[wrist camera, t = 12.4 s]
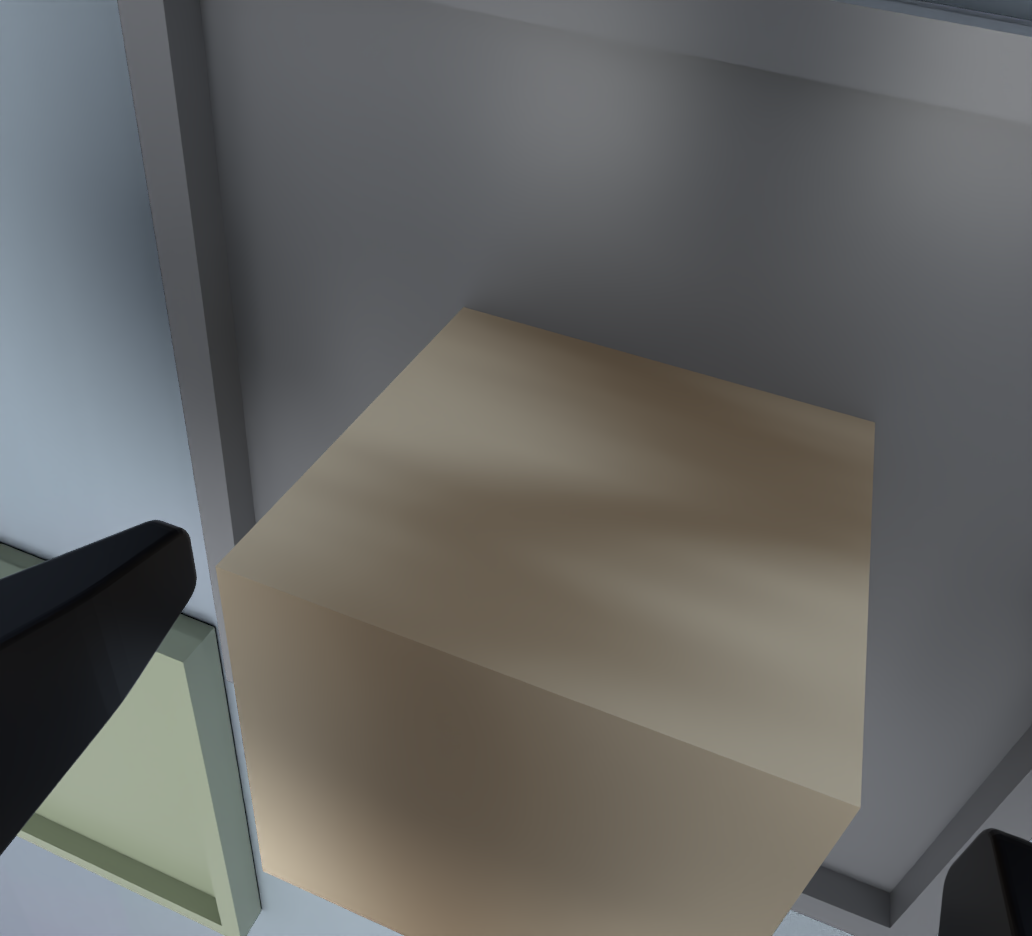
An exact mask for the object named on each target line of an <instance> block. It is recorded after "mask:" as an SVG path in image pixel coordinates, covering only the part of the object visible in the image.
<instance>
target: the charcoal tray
mask: <svg viewBox="0 0 1032 936" xmlns="http://www.w3.org/2000/svg"><path fill="white" fill-rule="evenodd" d="M117 2H118V8H119V15H120V21H121V27H122V33H123V39H124V46H125V52H126V58H127V64H128V70H129V77H130V83H131V89H132V95H133V101H134V108H135V114H136V120H137V126H138V132H139V139H140V145H141V151H142V157H143V163H144V170H145V176H146V182H147V188H148V194H149V201H150V207H151V213H152V219H153V225H154V232H155V238H156V244H157V250H158V256H159V263H160V269H161V275H162V281H163V287H164V294H165V300H166V306H167V312H168V318H169V325H170V331H171V337H172V343H173V349H174V356H175V362H176V368H177V374H178V381H179V387H180V393H181V399H182V405H183V412H184V418H185V424H186V430H187V436H188V443H189V449H190V455H191V461H192V467H193V474H194V480H195V486H196V492H197V498H198V505H199V511H200V517H201V523H202V529H203V536H204V542H205V548H206V554H207V560H208V567H209V573H210V579H211V585H212V591H213V598H214V604H215V610H216V616H217V622H218V629H219V635H220V641H221V647H222V653H223V660H224V666H225V672H226V678H227V681H229V682H232V683H234V682H233V676H232V669H231V663H230V656H229V650H228V644H227V637H226V631H225V624H224V618H223V612H222V605H221V599H220V592H219V586H218V579H217V573H216V567H215V566H216V565H217V564H218V563H219V562H220V561H221V560H222V559H223V558H224V557H225V556H226V555H227V554H228V553H229V552H230V551H231V550H232V549H233V548H234V546H235V545H236V544H237V543H238V542H239V541H240V540H241V539H242V538H243V537H244V536H245V535H246V534H247V533H248V532H249V531H250V530H251V529H252V528H253V527H254V526H255V525H256V523H257V522H258V521H259V520H260V519H261V518H262V517H263V516H264V515H265V514H266V513H267V512H268V511H269V510H270V509H271V508H272V507H273V506H274V505H275V504H276V503H277V502H278V500H279V499H280V498H281V497H282V496H283V495H284V494H285V493H286V492H287V491H288V490H289V489H290V488H291V487H292V486H293V485H294V484H295V483H296V482H297V481H298V480H299V479H300V478H301V476H302V475H303V474H304V473H305V472H306V471H307V470H308V469H309V468H310V467H311V466H312V465H313V464H314V463H315V462H316V461H317V460H318V459H319V458H320V457H321V456H322V455H323V453H324V452H325V451H326V450H327V449H328V448H329V447H330V446H331V445H332V444H333V443H334V442H335V441H336V440H337V439H338V438H339V437H340V436H341V435H342V434H343V433H344V432H345V430H346V429H347V428H348V427H349V426H350V425H351V424H352V423H353V422H354V421H355V420H356V419H357V418H358V417H359V416H360V415H361V414H362V413H363V412H364V411H365V410H366V409H367V407H368V406H369V405H370V404H371V403H372V402H373V401H374V400H375V399H376V398H377V397H378V396H379V395H380V394H381V393H382V392H383V391H384V390H385V389H386V388H387V387H388V386H389V384H390V383H391V382H392V381H393V380H394V379H395V378H396V377H397V376H398V375H399V374H400V373H401V372H402V371H403V370H404V369H405V368H406V367H407V366H408V365H409V364H410V363H411V361H412V360H413V359H414V358H415V357H416V356H417V355H418V354H419V353H420V352H421V351H422V350H423V349H424V348H425V347H426V346H427V345H428V344H429V343H430V342H431V341H432V340H433V339H434V337H435V336H436V335H437V334H438V333H439V332H440V331H441V330H442V329H443V328H444V327H445V326H446V325H447V324H448V323H449V322H450V321H451V320H452V319H453V318H454V317H455V316H456V314H457V313H458V312H459V311H460V310H461V309H462V308H463V307H465V308H469V309H472V310H476V311H479V312H483V313H487V314H490V315H494V316H497V317H501V318H504V319H508V320H511V321H515V322H519V323H522V324H526V325H529V326H533V327H536V328H540V329H544V330H547V331H551V332H554V333H558V334H561V335H565V336H569V337H572V338H576V339H579V340H583V341H586V342H590V343H594V344H597V345H601V346H604V347H608V348H611V349H615V350H618V351H622V352H626V353H629V354H633V355H636V356H640V357H643V358H647V359H651V360H654V361H658V362H661V363H665V364H668V365H672V366H676V367H679V368H683V369H686V370H690V371H693V372H697V373H700V374H704V375H708V376H711V377H715V378H718V379H722V380H725V381H729V382H733V383H736V384H740V385H743V386H747V387H750V388H754V389H758V390H761V391H765V392H768V393H772V394H775V395H779V396H782V397H786V398H790V399H793V400H797V401H800V402H804V403H807V404H811V405H815V406H818V407H822V408H825V409H829V410H832V411H836V412H840V413H843V414H847V415H850V416H854V417H857V418H861V419H864V420H868V421H872V422H875V439H874V466H873V492H872V519H871V546H870V572H869V599H868V625H867V652H866V678H865V705H864V732H863V758H862V785H861V808H860V809H859V811H858V812H857V814H856V815H855V817H854V818H853V820H852V821H851V822H850V824H849V825H848V827H847V828H846V830H845V831H844V832H843V834H842V835H841V837H840V838H839V840H838V841H837V843H836V844H835V845H834V847H833V848H832V850H831V851H830V853H829V854H828V856H827V857H826V858H825V860H824V861H823V863H822V864H821V866H820V867H819V869H818V870H817V871H816V873H815V874H814V876H813V877H812V879H811V880H810V881H809V883H808V884H807V886H806V887H805V889H804V890H803V892H802V893H801V894H800V896H799V897H798V899H797V900H796V902H795V903H794V905H793V906H792V907H791V909H790V910H793V911H795V912H798V913H800V914H802V915H805V916H807V917H810V918H812V919H815V920H817V921H820V922H822V923H825V924H827V925H830V926H832V927H834V928H837V929H839V930H842V931H844V932H847V933H849V934H852V935H854V936H937V935H938V932H939V922H940V913H941V903H942V893H943V885H944V881H945V878H946V875H947V872H948V870H949V868H950V867H951V865H952V864H953V863H954V862H955V860H956V859H957V858H958V857H959V856H960V855H961V854H962V853H963V852H964V850H965V849H966V848H967V847H968V846H969V845H970V844H971V843H972V842H973V840H974V839H975V838H976V837H977V836H978V835H979V834H980V833H981V832H982V831H983V830H985V829H989V828H995V829H998V830H1001V831H1004V832H1006V833H1009V834H1012V835H1015V836H1017V837H1020V838H1023V839H1025V840H1027V841H1030V840H1031V839H1032V21H1031V20H1025V19H1020V18H1014V17H1009V16H1003V15H997V14H992V13H986V12H981V11H975V10H969V9H964V8H958V7H953V6H947V5H942V4H936V3H930V2H925V1H919V0H117Z"/></svg>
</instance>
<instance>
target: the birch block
mask: <svg viewBox="0 0 1032 936" xmlns="http://www.w3.org/2000/svg"><path fill="white" fill-rule="evenodd" d="M874 439H875V422H872V421H868V420H864V419H861V418H857V417H854V416H850V415H847V414H843V413H840V412H836V411H832V410H829V409H825V408H822V407H818V406H815V405H811V404H807V403H804V402H800V401H797V400H793V399H790V398H786V397H782V396H779V395H775V394H772V393H768V392H765V391H761V390H758V389H754V388H750V387H747V386H743V385H740V384H736V383H733V382H729V381H725V380H722V379H718V378H715V377H711V376H708V375H704V374H700V373H697V372H693V371H690V370H686V369H683V368H679V367H676V366H672V365H668V364H665V363H661V362H658V361H654V360H651V359H647V358H643V357H640V356H636V355H633V354H629V353H626V352H622V351H618V350H615V349H611V348H608V347H604V346H601V345H597V344H594V343H590V342H586V341H583V340H579V339H576V338H572V337H569V336H565V335H561V334H558V333H554V332H551V331H547V330H544V329H540V328H536V327H533V326H529V325H526V324H522V323H519V322H515V321H511V320H508V319H504V318H501V317H497V316H494V315H490V314H487V313H483V312H479V311H476V310H472V309H469V308H465V307H463V308H462V309H461V310H460V311H459V312H458V313H457V314H456V316H455V317H454V318H453V319H452V320H451V321H450V322H449V323H448V324H447V325H446V326H445V327H444V328H443V329H442V330H441V331H440V332H439V333H438V334H437V335H436V336H435V337H434V339H433V340H432V341H431V342H430V343H429V344H428V345H427V346H426V347H425V348H424V349H423V350H422V351H421V352H420V353H419V354H418V355H417V356H416V357H415V358H414V359H413V360H412V361H411V363H410V364H409V365H408V366H407V367H406V368H405V369H404V370H403V371H402V372H401V373H400V374H399V375H398V376H397V377H396V378H395V379H394V380H393V381H392V382H391V383H390V384H389V386H388V387H387V388H386V389H385V390H384V391H383V392H382V393H381V394H380V395H379V396H378V397H377V398H376V399H375V400H374V401H373V402H372V403H371V404H370V405H369V406H368V407H367V409H366V410H365V411H364V412H363V413H362V414H361V415H360V416H359V417H358V418H357V419H356V420H355V421H354V422H353V423H352V424H351V425H350V426H349V427H348V428H347V429H346V430H345V432H344V433H343V434H342V435H341V436H340V437H339V438H338V439H337V440H336V441H335V442H334V443H333V444H332V445H331V446H330V447H329V448H328V449H327V450H326V451H325V452H324V453H323V455H322V456H321V457H320V458H319V459H318V460H317V461H316V462H315V463H314V464H313V465H312V466H311V467H310V468H309V469H308V470H307V471H306V472H305V473H304V474H303V475H302V476H301V478H300V479H299V480H298V481H297V482H296V483H295V484H294V485H293V486H292V487H291V488H290V489H289V490H288V491H287V492H286V493H285V494H284V495H283V496H282V497H281V498H280V499H279V500H278V502H277V503H276V504H275V505H274V506H273V507H272V508H271V509H270V510H269V511H268V512H267V513H266V514H265V515H264V516H263V517H262V518H261V519H260V520H259V521H258V522H257V523H256V525H255V526H254V527H253V528H252V529H251V530H250V531H249V532H248V533H247V534H246V535H245V536H244V537H243V538H242V539H241V540H240V541H239V542H238V543H237V544H236V545H235V546H234V548H233V549H232V550H231V551H230V552H229V553H228V554H227V555H226V556H225V557H224V558H223V559H222V560H221V561H220V562H219V563H218V564H217V565H216V566H215V567H216V573H217V579H218V586H219V592H220V599H221V605H222V612H223V618H224V624H225V631H226V637H227V644H228V650H229V656H230V663H231V669H232V676H233V682H234V688H235V695H236V701H237V708H238V714H239V721H240V727H241V733H242V740H243V746H244V753H245V759H246V765H247V772H248V778H249V785H250V791H251V797H252V804H253V810H254V817H255V823H256V830H257V836H258V842H259V849H260V855H261V862H262V868H263V871H264V872H266V873H268V874H270V875H272V876H275V877H277V878H279V879H281V880H283V881H286V882H288V883H290V884H292V885H294V886H297V887H299V888H301V889H303V890H305V891H308V892H310V893H312V894H314V895H316V896H319V897H321V898H323V899H325V900H327V901H330V902H332V903H334V904H336V905H338V906H341V907H343V908H345V909H347V910H349V911H352V912H354V913H356V914H358V915H360V916H363V917H365V918H367V919H369V920H371V921H374V922H376V923H378V924H380V925H382V926H385V927H387V928H389V929H391V930H393V931H396V932H398V933H400V934H402V935H404V936H772V935H773V933H774V932H775V931H776V929H777V928H778V926H779V925H780V923H781V922H782V920H783V919H784V918H785V916H786V915H787V913H788V912H789V910H790V909H791V907H792V906H793V905H794V903H795V902H796V900H797V899H798V897H799V896H800V894H801V893H802V892H803V890H804V889H805V887H806V886H807V884H808V883H809V881H810V880H811V879H812V877H813V876H814V874H815V873H816V871H817V870H818V869H819V867H820V866H821V864H822V863H823V861H824V860H825V858H826V857H827V856H828V854H829V853H830V851H831V850H832V848H833V847H834V845H835V844H836V843H837V841H838V840H839V838H840V837H841V835H842V834H843V832H844V831H845V830H846V828H847V827H848V825H849V824H850V822H851V821H852V820H853V818H854V817H855V815H856V814H857V812H858V811H859V809H860V808H861V785H862V758H863V732H864V705H865V678H866V652H867V625H868V599H869V572H870V546H871V519H872V492H873V466H874Z"/></svg>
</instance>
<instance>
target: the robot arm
mask: <svg viewBox="0 0 1032 936" xmlns="http://www.w3.org/2000/svg"><path fill="white" fill-rule="evenodd" d="M196 580H197V576H196V569H195V563H194V558H193V552H192V546H191V540H190V537H189V534H188V533H187V532H186V531H185V530H184V529H182V528H180V527H177V526H174V525H172V524H169V523H166V522H164V521H160V520H152V521H148V522H145V523H142V524H140V525H137V526H134V527H132V528H129V529H127V530H124V531H122V532H119V533H117V534H114V535H111V536H109V537H106V538H104V539H101V540H99V541H96V542H93V543H91V544H88V545H86V546H83V547H81V548H78V549H76V550H73V551H70V552H68V553H65V554H63V555H60V556H58V557H55V558H52V559H50V560H47V561H45V562H42V563H40V564H37V565H35V566H32V567H29V568H27V569H24V570H22V571H19V572H17V573H14V574H11V575H9V576H6V577H4V578H1V579H0V855H1V854H2V853H3V852H4V850H5V849H6V848H7V847H8V845H9V844H10V843H11V842H12V840H13V839H14V838H15V837H16V835H17V834H18V833H19V832H20V831H21V829H22V828H23V827H24V826H25V824H26V823H27V822H28V821H29V819H30V818H31V817H32V816H33V814H34V813H35V812H36V811H37V809H38V808H39V807H40V806H41V804H42V803H43V802H44V801H45V799H46V798H47V797H48V796H49V794H50V793H51V792H52V791H53V789H54V788H55V787H56V786H57V784H58V783H59V782H60V781H61V779H62V778H63V777H64V776H65V774H66V773H67V772H68V771H69V769H70V768H71V767H72V766H73V764H74V763H75V762H76V761H77V759H78V758H79V757H80V756H81V754H82V753H83V752H84V751H85V749H86V748H87V747H88V746H89V744H90V743H91V742H92V741H93V739H94V738H95V737H96V736H97V734H98V733H99V732H100V731H101V729H102V728H103V727H104V726H105V724H106V723H107V722H108V721H109V719H110V718H111V717H112V715H113V714H114V713H115V711H116V710H117V709H118V708H119V706H120V705H121V704H122V702H123V701H124V699H125V698H126V697H127V695H128V694H129V692H130V691H131V689H132V688H133V686H134V685H135V683H136V682H137V680H138V679H139V677H140V676H141V674H142V673H143V671H144V669H145V668H146V666H147V665H148V663H149V662H150V660H151V659H152V657H153V655H154V654H155V652H156V651H157V649H158V648H159V646H160V645H161V643H162V641H163V640H164V638H165V637H166V635H167V634H168V632H169V631H170V629H171V628H172V626H173V624H174V623H175V621H176V620H177V618H178V617H179V615H180V614H181V612H182V610H183V609H184V607H185V606H186V604H187V603H188V601H189V600H190V598H191V596H192V594H193V592H194V589H195V586H196ZM938 936H1032V843H1031V842H1029V841H1027V840H1025V839H1023V838H1020V837H1017V836H1015V835H1012V834H1009V833H1006V832H1004V831H1001V830H998V829H995V828H989V829H985V830H983V831H982V832H981V833H980V834H979V835H978V836H977V837H976V838H975V839H974V840H973V842H972V843H971V844H970V845H969V846H968V847H967V848H966V849H965V850H964V852H963V853H962V854H961V855H960V856H959V857H958V858H957V859H956V860H955V862H954V863H953V864H952V865H951V867H950V868H949V870H948V872H947V875H946V878H945V881H944V885H943V893H942V903H941V913H940V922H939V932H938Z"/></svg>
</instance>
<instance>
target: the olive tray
mask: <svg viewBox="0 0 1032 936" xmlns="http://www.w3.org/2000/svg"><path fill="white" fill-rule="evenodd" d="M42 562H45V561H44V560H42V559H39V558H37V557H34V556H32V555H29V554H27V553H24V552H21V551H19V550H16V549H14V548H11V547H9V546H6V545H4V544H1V543H0V579H1V578H4V577H6V576H9V575H11V574H14V573H17V572H19V571H22V570H24V569H27V568H29V567H32V566H35V565H37V564H40V563H42ZM16 836H18V837H20V838H22V839H24V840H27V841H29V842H31V843H33V844H35V845H37V846H39V847H41V848H43V849H45V850H47V851H50V852H52V853H54V854H56V855H58V856H60V857H62V858H64V859H66V860H68V861H70V862H73V863H75V864H77V865H79V866H81V867H83V868H85V869H87V870H89V871H91V872H93V873H95V874H98V875H100V876H102V877H104V878H106V879H108V880H110V881H112V882H114V883H116V884H118V885H121V886H123V887H125V888H127V889H129V890H131V891H133V892H135V893H137V894H139V895H141V896H144V897H146V898H148V899H150V900H152V901H154V902H156V903H158V904H160V905H162V906H164V907H166V908H169V909H171V910H173V911H175V912H177V913H179V914H181V915H183V916H185V917H187V918H189V919H192V920H194V921H196V922H198V923H200V924H202V925H204V926H206V927H208V928H210V929H212V930H215V931H217V932H219V933H221V934H223V935H225V936H247V934H248V932H249V931H250V929H251V927H252V926H253V924H254V922H255V921H256V919H257V917H258V916H259V914H260V912H261V906H260V900H259V894H258V888H257V882H256V876H255V870H254V863H253V857H252V851H251V845H250V839H249V833H248V827H247V821H246V815H245V809H244V803H243V797H242V791H241V785H240V779H239V773H238V767H237V761H236V755H235V749H234V743H233V737H232V731H231V725H230V719H229V712H228V706H227V700H226V694H225V688H224V682H223V676H222V670H221V664H220V658H219V652H218V646H217V640H216V634H215V628H214V627H212V626H210V625H207V624H205V623H202V622H200V621H197V620H195V619H192V618H189V617H187V616H184V615H182V614H180V615H179V617H178V618H177V620H176V621H175V623H174V624H173V626H172V628H171V629H170V631H169V632H168V634H167V635H166V637H165V638H164V640H163V641H162V643H161V645H160V646H159V648H158V649H157V651H156V652H155V654H154V655H153V657H152V659H151V660H150V662H149V663H148V665H147V666H146V668H145V669H144V671H143V673H142V674H141V676H140V677H139V679H138V680H137V682H136V683H135V685H134V686H133V688H132V689H131V691H130V692H129V694H128V695H127V697H126V698H125V699H124V701H123V702H122V704H121V705H120V706H119V708H118V709H117V710H116V711H115V713H114V714H113V715H112V717H111V718H110V719H109V721H108V722H107V723H106V724H105V726H104V727H103V728H102V729H101V731H100V732H99V733H98V734H97V736H96V737H95V738H94V739H93V741H92V742H91V743H90V744H89V746H88V747H87V748H86V749H85V751H84V752H83V753H82V754H81V756H80V757H79V758H78V759H77V761H76V762H75V763H74V764H73V766H72V767H71V768H70V769H69V771H68V772H67V773H66V774H65V776H64V777H63V778H62V779H61V781H60V782H59V783H58V784H57V786H56V787H55V788H54V789H53V791H52V792H51V793H50V794H49V796H48V797H47V798H46V799H45V801H44V802H43V803H42V804H41V806H40V807H39V808H38V809H37V811H36V812H35V813H34V814H33V816H32V817H31V818H30V819H29V821H28V822H27V823H26V824H25V826H24V827H23V828H22V829H21V831H20V832H19V833H18V834H17V835H16Z"/></svg>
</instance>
